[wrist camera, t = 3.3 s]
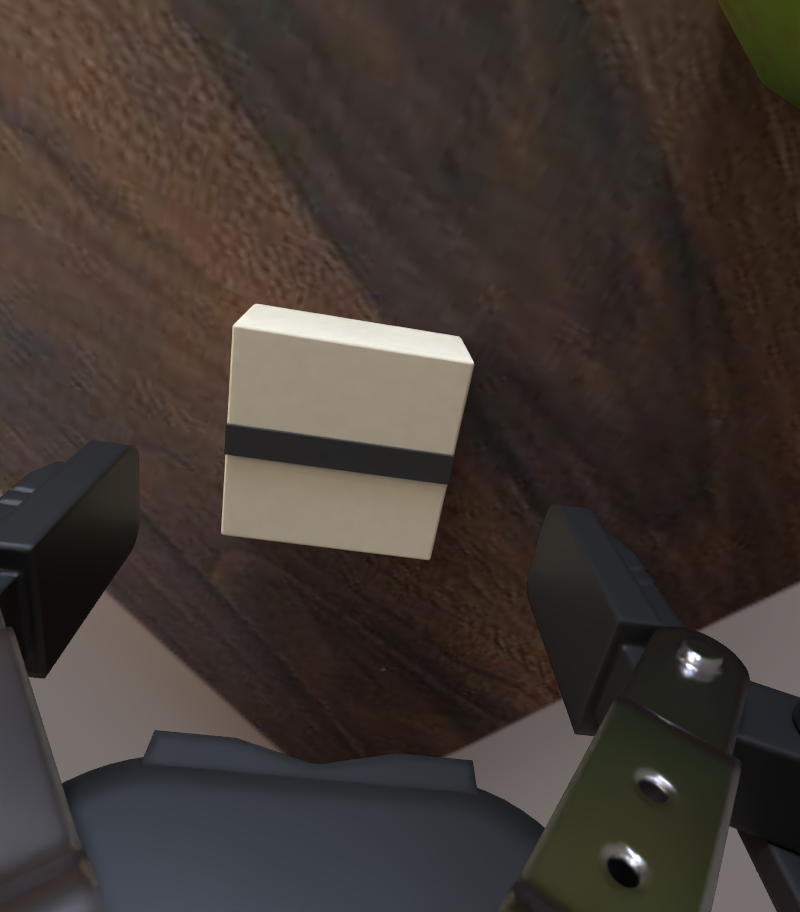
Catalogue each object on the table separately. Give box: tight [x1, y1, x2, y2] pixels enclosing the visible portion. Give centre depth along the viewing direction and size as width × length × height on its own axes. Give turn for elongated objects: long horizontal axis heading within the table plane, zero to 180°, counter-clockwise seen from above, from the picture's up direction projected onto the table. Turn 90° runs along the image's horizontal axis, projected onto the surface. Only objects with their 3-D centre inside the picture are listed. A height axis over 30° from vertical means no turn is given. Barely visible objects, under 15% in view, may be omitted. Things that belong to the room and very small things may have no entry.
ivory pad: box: [221, 304, 474, 560], centre depth 16 cm, size 6×6×3 cm
